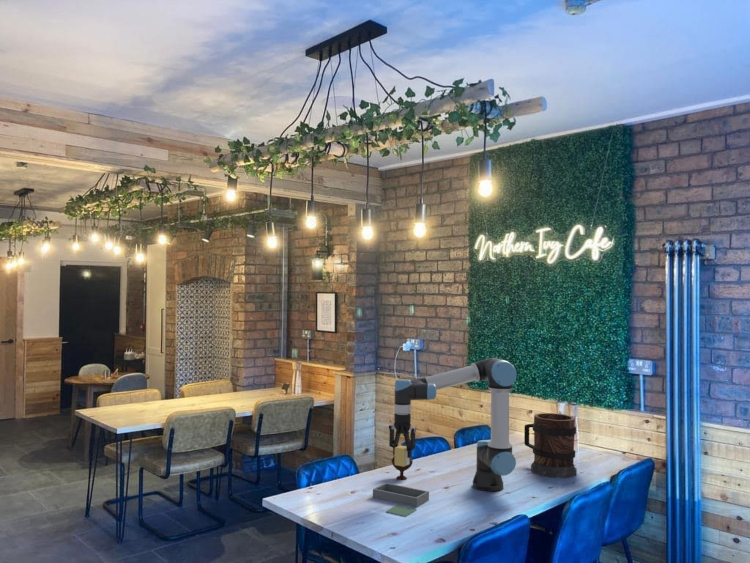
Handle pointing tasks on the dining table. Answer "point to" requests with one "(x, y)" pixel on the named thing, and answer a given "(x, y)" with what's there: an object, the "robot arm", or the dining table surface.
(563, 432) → the wooden beer tankard
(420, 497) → the charcoal bin
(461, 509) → the dining table surface
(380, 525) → the dining table surface
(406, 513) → the green pad
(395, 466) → the ice cream bowl
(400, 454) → the mustard block
